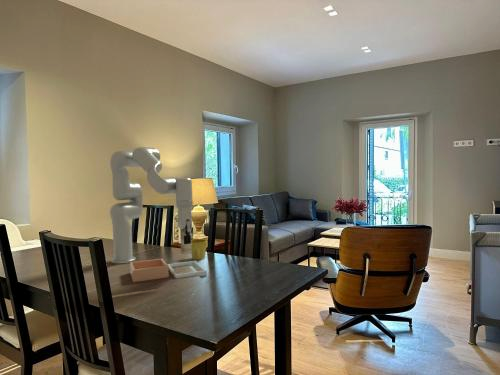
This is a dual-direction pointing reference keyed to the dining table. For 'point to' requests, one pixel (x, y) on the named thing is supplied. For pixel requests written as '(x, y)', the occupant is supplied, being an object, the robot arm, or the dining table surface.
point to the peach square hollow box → (148, 270)
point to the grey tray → (192, 264)
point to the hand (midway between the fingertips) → (186, 242)
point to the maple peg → (185, 247)
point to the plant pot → (198, 248)
